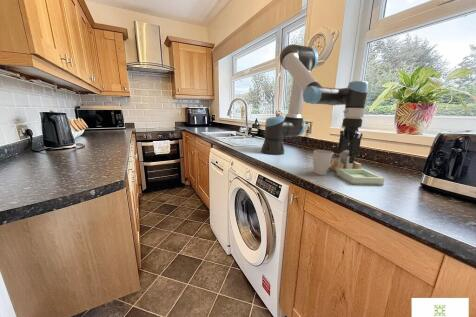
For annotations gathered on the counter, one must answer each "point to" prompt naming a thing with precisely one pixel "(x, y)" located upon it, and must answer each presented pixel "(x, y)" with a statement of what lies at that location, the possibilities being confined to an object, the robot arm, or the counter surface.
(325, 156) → the cup
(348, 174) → the dish
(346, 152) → the light bulb
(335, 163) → the holder
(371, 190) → the counter surface
